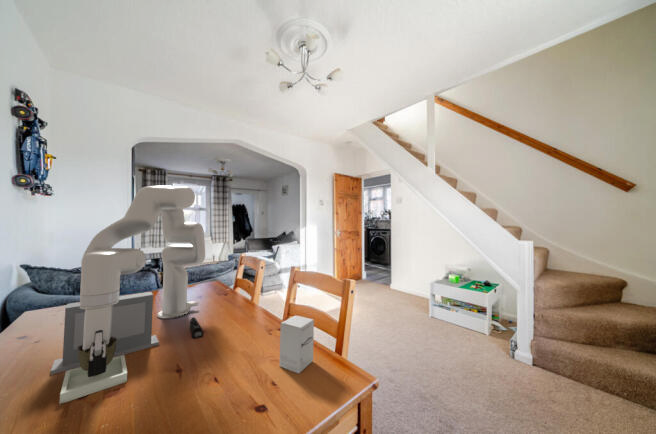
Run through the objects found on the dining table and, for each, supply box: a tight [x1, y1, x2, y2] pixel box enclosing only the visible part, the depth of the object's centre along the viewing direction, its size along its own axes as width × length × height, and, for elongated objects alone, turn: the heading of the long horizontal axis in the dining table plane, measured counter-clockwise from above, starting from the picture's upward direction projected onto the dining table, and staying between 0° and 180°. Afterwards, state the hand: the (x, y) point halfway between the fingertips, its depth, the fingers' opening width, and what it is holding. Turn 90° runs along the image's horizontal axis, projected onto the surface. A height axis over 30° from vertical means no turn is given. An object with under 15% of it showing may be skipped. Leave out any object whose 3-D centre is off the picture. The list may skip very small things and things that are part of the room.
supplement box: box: [279, 315, 315, 374], centre depth 70 cm, size 7×7×13 cm
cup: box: [78, 336, 117, 377], centre depth 62 cm, size 8×7×8 cm
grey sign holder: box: [50, 291, 160, 375], centre depth 75 cm, size 24×7×17 cm, turn 133°
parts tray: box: [59, 354, 128, 405], centre depth 62 cm, size 12×12×2 cm
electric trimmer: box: [189, 316, 204, 340], centre depth 92 cm, size 4×16×3 cm, turn 35°
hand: (97, 367), depth 62 cm, fingers closed on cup, 6 cm apart
